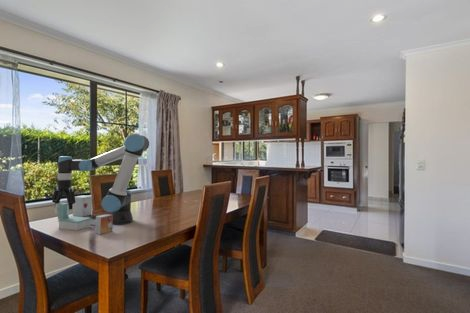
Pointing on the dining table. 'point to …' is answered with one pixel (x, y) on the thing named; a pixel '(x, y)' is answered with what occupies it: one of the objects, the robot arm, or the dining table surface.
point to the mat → (93, 222)
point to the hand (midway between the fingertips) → (63, 213)
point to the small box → (104, 224)
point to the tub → (74, 225)
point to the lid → (64, 217)
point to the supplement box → (82, 206)
